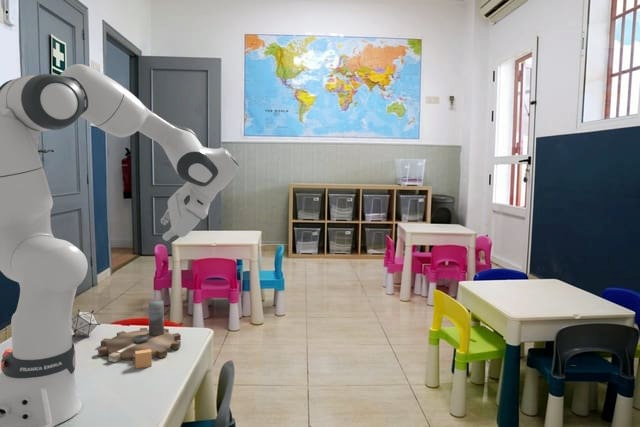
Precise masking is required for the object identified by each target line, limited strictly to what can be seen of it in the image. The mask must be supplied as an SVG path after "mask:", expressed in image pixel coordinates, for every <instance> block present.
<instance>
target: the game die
mask: <svg viewBox="0 0 640 427" xmlns="http://www.w3.org/2000/svg"><path fill="white" fill-rule="evenodd" d="M80 310H81V309H77V313H76V314H75V315H74V316H73V317H72V333H73V334H72V338H73V337H76V336H78V335H79V336H87V338H88V339H90V334H91V333H92V332H93V331H94V329H95V328H96V327H97V326H101V323H98V320H97V319H96V317H95V315H94V312H95V310H94V309H93V310H92V311H80Z"/></svg>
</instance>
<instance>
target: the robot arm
mask: <svg viewBox="0 0 640 427" xmlns="http://www.w3.org/2000/svg"><path fill="white" fill-rule="evenodd" d="M79 118H83V119H84V120H86V121H87V122H88V123H90V124H92V125H93V126H95V127H96V128H98V129H99V130H101V131H103V132H105V133H107V134H108V135H112V136H114V137H117V138H127V137H130V136H132V135H134V134H135V133H136V132H139V133H140V134H142V135H143V136H146V137H147V138H150V139H151V140H152V141H155V142H156V143H157V144H159V146H160V147H161V149H162V150H163V152H164V153H165V155H166V157H167V158H168V160H169V161H170V163H171V165H172V167H173V169H174V170H175V173H176V174H177V175H178V176H179V177H180V178H181V179H182V180H184V181H186V182H185V183H184V184H183V185H182V186H181V187H180V188H178V189H177V190H176V191H175V192H174V193H173V194H172V195H171V196H170V197H169V198H168V200H167V209H166V211H165V213H164V214H163V216H162V217H161V219H160V224H161V225H163V226H166V225H168V223H170V226H171V227H170V228H169V230H168V231H165V232H164V233H163V234H162V239H163V240H164V241H165V242H168V241H169V240H170V239H172V238H173V237H175V236H177V237H179V238H184V237H186V236H187V235H189V233H190V232H191V231H192V230H194V229H195V228H196V226H197V225H198V224H199V223H200V221H201V220H204V219H206V218H207V217H208V214H209V208H210V206H211V203H212V202H213V200H215V198H216V196H217V195H218V193H219V192H220V191H222V190H224V189H225V187H226V186H228V184H230V182H231V181H232V179H233V178H234V177H235V176H236V174H237V173H238V170H239V163H238V161H237V160H236V159H235V157H234V156H233V154H231V152H230V151H229V150H228V149H227V148H225V147H220V148H210V147H206V146H203V145H202V143H201V142H200V140H199V138H198V135H197V134H196V133H195V132H194V131H193V130H192V129H190V128H188V127H187V126H186V127H185V126H180V125H176V124H173V123H171V122H169V121H168V120H166V119H164V118H163V117H161V116H160V115H159V114H157V113H155V112H154V111H152V110H151V109H149V108H148V107H147V106H146V105H144V104H143V102H142V101H141V100H140V99H139V98H138V97H137V96H135V95H134V94H133V93H132V92H131V91H129V90H128V89H127V88H126V87H124V86H123V85H121V84H120V83H118V82H117V81H116V80H114V79H112V78H111V77H109V76H107V75H106V74H104V73H102V72H100V71H98V70H97V69H95V68H92V67H90V66H88V65H86V64H82V63H76V64H72V65H70V66H68V67H66V68H65V69H64V70H63V71H62V72H61V73H60V75H57V74H51V73H50V74H49V73H47V74H46V73H45V74H44V73H41V74H37V75H34V74H33V75H32V74H28V75H27V74H26V75H23V76H20V77H17V78H15V79H10V80H8V81H5V82H3V84H1V85H0V272H1V273H2V274H3V275H4V276H5V277H6V278H7V279H10V280H11V281H13V282H15V283H16V282H17V284H18V285H19V298H18V303H17V306H16V310H15V312H14V313H13V314H12V316H11V321H10V326H11V346H12V347H11V348H8V349H6V350H4V351H3V353H2V356H1V357H2V359H1V361H0V370H1V372H0V427H55V426H57V425H59V424H62V423H63V422H66V421H67V420H69V419H71V418H73V417H75V415H76V414H78V413H79V412H80V411H81V410H82V407H83V402H82V399H81V396H80V393H79V390H78V387H77V381H76V376H75V370H76V350H75V345H74V343H73V330H72V318H73V317H72V314H73V307H74V306H73V305H74V301H75V297H76V293H77V290H78V287H79V286H80V285H81V284H82V283H83V281H84V279H85V278H86V277H87V275H88V274H87V273H88V268H89V264H88V259H87V257H86V255H85V254H84V253H83V252H82V250H80V248H78V247H77V246H76V245H74V244H73V243H71V242H70V241H68V240H65V239H62V238H61V239H60V238H56V237H55V236H54V234H53V232H52V225H51V211H52V209H53V206H54V200H53V197H52V193H51V189H50V186H49V183H48V179H47V176H46V172H45V169H44V165H43V163H42V159H41V156H40V154H39V152H38V151H39V148H38V144H39V142H38V141H39V137H40V134H41V132H47V131H48V132H49V131H56V130H57V131H58V130H62V129H65V128H67V127H69V126H71V125H73V123H75V122H76V121H77V120H78V119H79ZM169 221H170V222H169Z"/></svg>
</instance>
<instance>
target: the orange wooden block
mask: <svg viewBox="0 0 640 427" xmlns="http://www.w3.org/2000/svg"><path fill="white" fill-rule="evenodd" d="M152 358H153V357H152V352H151V349H148V350H140V351H135V364H134V365H135V369H140V368H147V367H148V366H149V367H152V364H153V361H152V360H153V359H152Z"/></svg>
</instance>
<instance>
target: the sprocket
mask: <svg viewBox="0 0 640 427" xmlns="http://www.w3.org/2000/svg"><path fill="white" fill-rule="evenodd" d="M164 304H165V301H164V300H163V299H162V300H160V299H154V300H150V301H148V327H140V328H139V330H133V331H129V332H126V331H124V330H122V331H118V332H116V335H115V336H113V337H112V338H103V339H102V340H101V341H100V347H97V354H98V356H100V357H101V356H106V355H107V356H108V361H109V362H113V363H116V362H118V361H120V360H126V361H127V360H128V361H131V360H132V363H135V351H140V350H148V349H151V352H152V358H155V357H157V358H160V359H161V358H165V357H167V356H168V352H169V351H170V350H179V349H180V348H179V347H182V345H181V334H180V333H179V332H175V333H170V332H169V331H170V330H169V328H165V317H164V316H165V314H164V313H165V308H164V307H165V306H164ZM177 340H179V341H177Z"/></svg>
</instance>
